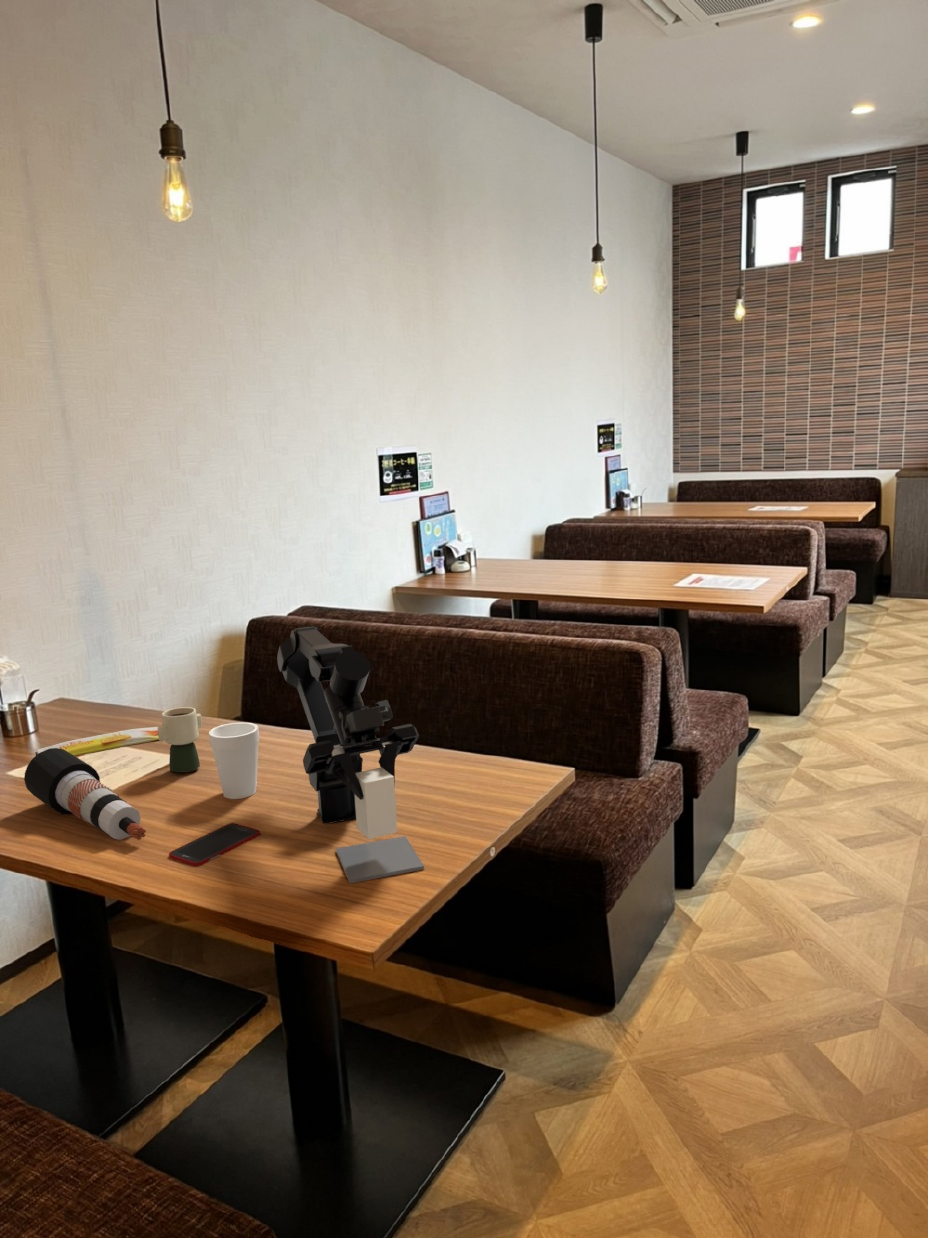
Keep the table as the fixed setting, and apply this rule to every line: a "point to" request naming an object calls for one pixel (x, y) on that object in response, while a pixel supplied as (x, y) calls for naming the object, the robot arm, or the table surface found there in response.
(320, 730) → the robot arm
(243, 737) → the foam cup
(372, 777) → the cream block
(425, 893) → the table surface
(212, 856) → the cell phone
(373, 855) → the slate coaster
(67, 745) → the food package
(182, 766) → the character mug
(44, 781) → the cable
